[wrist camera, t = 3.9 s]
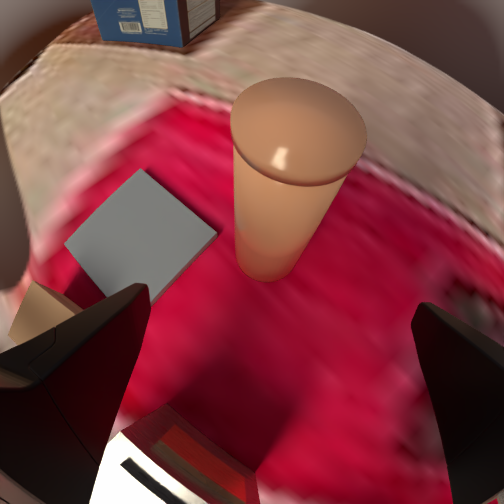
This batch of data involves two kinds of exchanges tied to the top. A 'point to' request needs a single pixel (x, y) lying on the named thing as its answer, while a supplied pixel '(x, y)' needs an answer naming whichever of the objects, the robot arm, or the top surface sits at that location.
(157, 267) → the pad
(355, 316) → the top surface
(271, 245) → the canister
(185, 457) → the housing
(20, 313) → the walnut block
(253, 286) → the top surface
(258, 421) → the top surface
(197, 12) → the protein box
